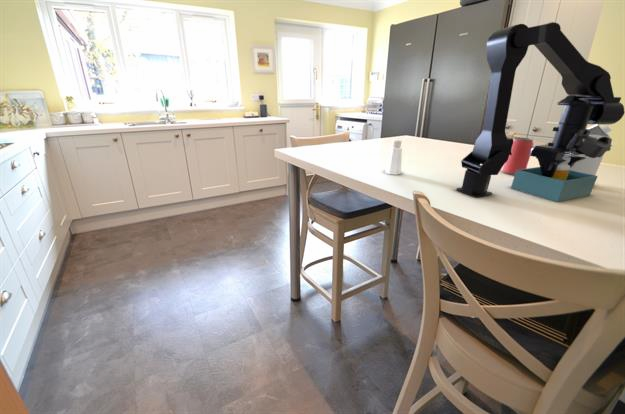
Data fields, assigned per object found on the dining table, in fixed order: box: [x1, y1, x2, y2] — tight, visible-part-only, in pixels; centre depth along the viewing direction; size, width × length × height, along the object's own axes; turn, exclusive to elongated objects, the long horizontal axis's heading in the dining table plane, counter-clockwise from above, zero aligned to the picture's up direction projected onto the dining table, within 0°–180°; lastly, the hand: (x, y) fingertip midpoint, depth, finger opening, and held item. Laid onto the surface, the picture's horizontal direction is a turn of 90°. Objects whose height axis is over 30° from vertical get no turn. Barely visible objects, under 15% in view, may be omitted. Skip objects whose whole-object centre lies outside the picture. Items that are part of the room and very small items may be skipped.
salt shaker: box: [384, 139, 403, 176], centre depth 95 cm, size 5×5×11 cm
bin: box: [510, 166, 598, 203], centre depth 80 cm, size 15×12×6 cm
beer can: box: [502, 136, 534, 176], centre depth 97 cm, size 7×7×12 cm
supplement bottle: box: [552, 156, 571, 181], centre depth 79 cm, size 5×5×10 cm
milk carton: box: [570, 124, 613, 176], centre depth 85 cm, size 7×7×19 cm
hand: (552, 181), depth 80 cm, fingers closed on supplement bottle, 5 cm apart
